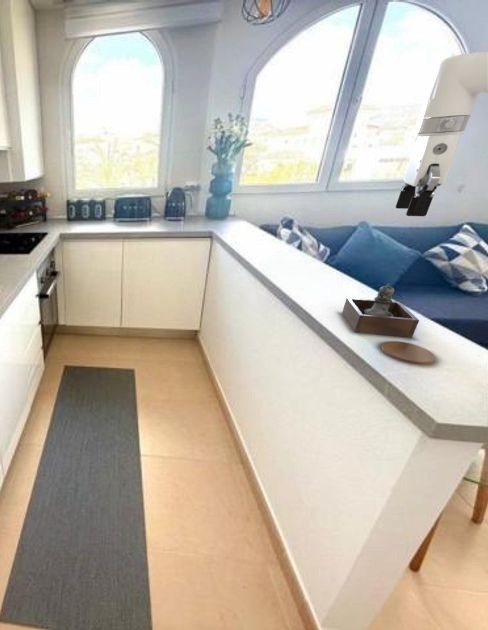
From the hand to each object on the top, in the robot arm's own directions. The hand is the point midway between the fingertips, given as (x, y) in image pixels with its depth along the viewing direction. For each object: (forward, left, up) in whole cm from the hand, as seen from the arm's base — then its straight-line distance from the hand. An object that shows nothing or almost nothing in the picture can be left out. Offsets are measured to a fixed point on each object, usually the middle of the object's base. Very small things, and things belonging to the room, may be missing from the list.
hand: (409, 211), depth 79 cm
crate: (-1, -1, -30) cm, 30 cm away
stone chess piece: (-1, -1, -30) cm, 30 cm away
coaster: (-3, +13, -30) cm, 33 cm away
